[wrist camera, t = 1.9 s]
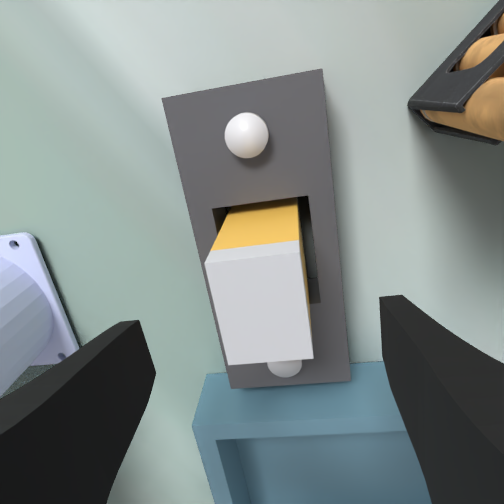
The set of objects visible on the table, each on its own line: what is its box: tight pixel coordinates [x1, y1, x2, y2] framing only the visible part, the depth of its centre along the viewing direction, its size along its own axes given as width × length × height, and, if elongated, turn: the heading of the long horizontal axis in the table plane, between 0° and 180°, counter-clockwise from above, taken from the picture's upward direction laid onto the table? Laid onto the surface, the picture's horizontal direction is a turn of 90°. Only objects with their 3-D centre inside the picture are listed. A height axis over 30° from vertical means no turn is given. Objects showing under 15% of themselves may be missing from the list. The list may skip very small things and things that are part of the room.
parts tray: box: [192, 361, 432, 504], centre depth 23 cm, size 14×14×4 cm
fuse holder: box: [162, 69, 351, 389], centre depth 18 cm, size 6×14×3 cm, turn 10°
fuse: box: [204, 197, 314, 365], centre depth 16 cm, size 3×4×7 cm
